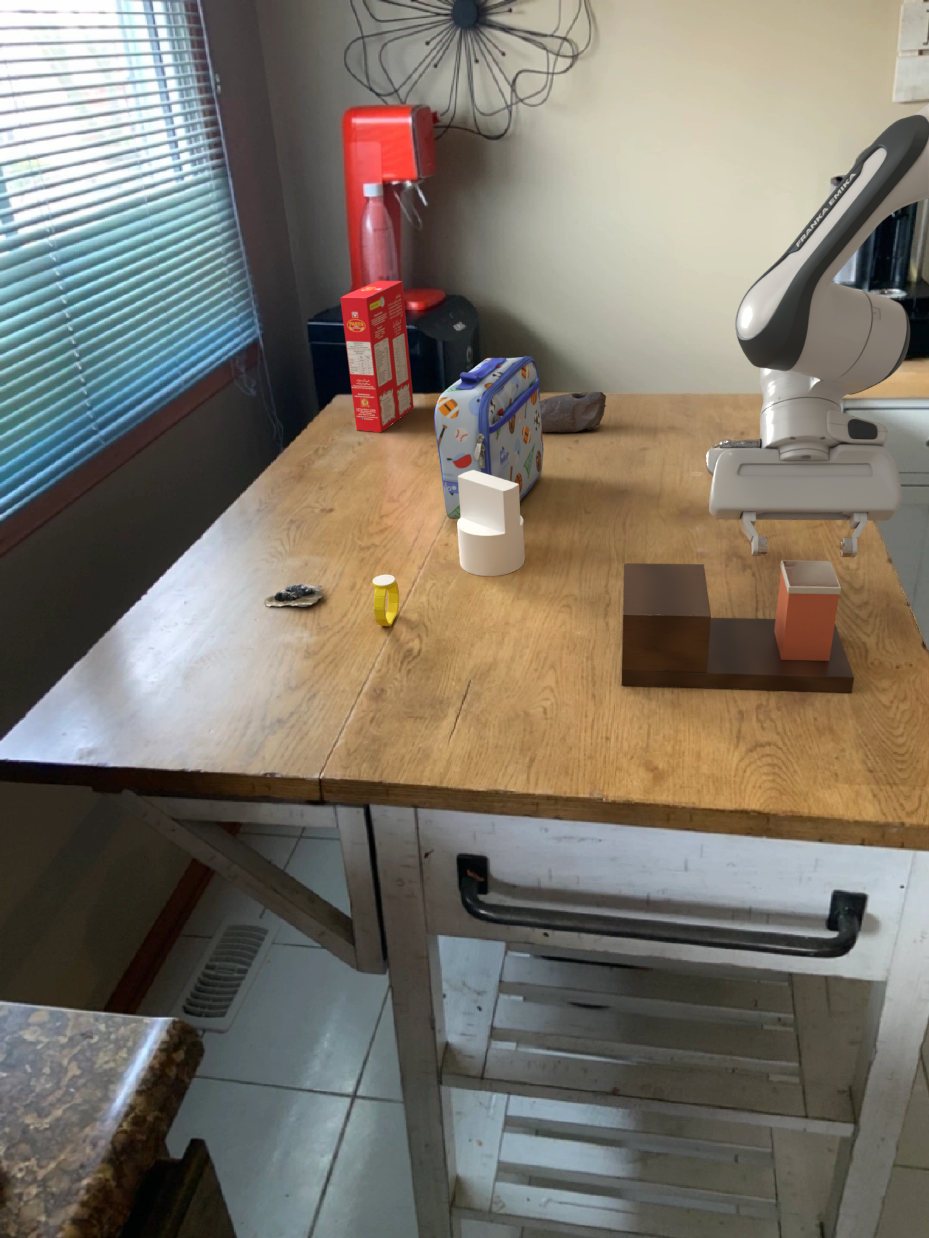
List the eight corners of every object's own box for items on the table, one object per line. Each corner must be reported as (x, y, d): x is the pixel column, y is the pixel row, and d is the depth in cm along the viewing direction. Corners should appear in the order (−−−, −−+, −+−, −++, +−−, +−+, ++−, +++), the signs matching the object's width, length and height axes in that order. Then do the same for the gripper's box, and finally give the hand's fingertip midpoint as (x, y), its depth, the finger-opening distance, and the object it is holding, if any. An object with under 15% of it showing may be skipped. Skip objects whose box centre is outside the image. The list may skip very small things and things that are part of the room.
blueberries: (324, 608, 126) (322, 595, 125) (262, 615, 125) (259, 603, 124) (323, 584, 132) (321, 572, 131) (264, 591, 131) (262, 579, 130)
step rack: (831, 634, 112) (841, 565, 108) (851, 692, 102) (863, 619, 98) (622, 630, 116) (623, 563, 112) (621, 685, 106) (622, 614, 102)
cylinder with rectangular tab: (538, 558, 134) (535, 477, 128) (493, 582, 129) (488, 499, 123) (491, 541, 140) (487, 463, 134) (446, 563, 135) (440, 482, 129)
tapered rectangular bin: (820, 632, 109) (830, 560, 105) (830, 661, 104) (841, 587, 100) (773, 631, 110) (780, 560, 106) (780, 660, 105) (788, 587, 100)
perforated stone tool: (525, 437, 178) (524, 400, 174) (525, 428, 182) (524, 392, 179) (607, 434, 177) (608, 396, 173) (605, 424, 181) (605, 388, 178)
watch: (385, 608, 125) (380, 567, 122) (406, 610, 124) (401, 568, 121) (371, 632, 120) (365, 589, 117) (392, 633, 119) (387, 591, 116)
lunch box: (501, 540, 140) (493, 391, 129) (434, 534, 143) (421, 388, 132) (550, 472, 162) (548, 339, 151) (491, 468, 166) (485, 338, 155)
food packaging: (390, 407, 199) (377, 280, 186) (413, 409, 197) (402, 281, 185) (356, 430, 187) (340, 297, 175) (380, 432, 185) (366, 298, 173)
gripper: (709, 427, 108) (709, 544, 105) (902, 426, 105) (909, 546, 102) (704, 451, 114) (704, 563, 111) (887, 451, 111) (893, 565, 108)
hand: (803, 555), depth 106 cm, fingers open, 8 cm apart
